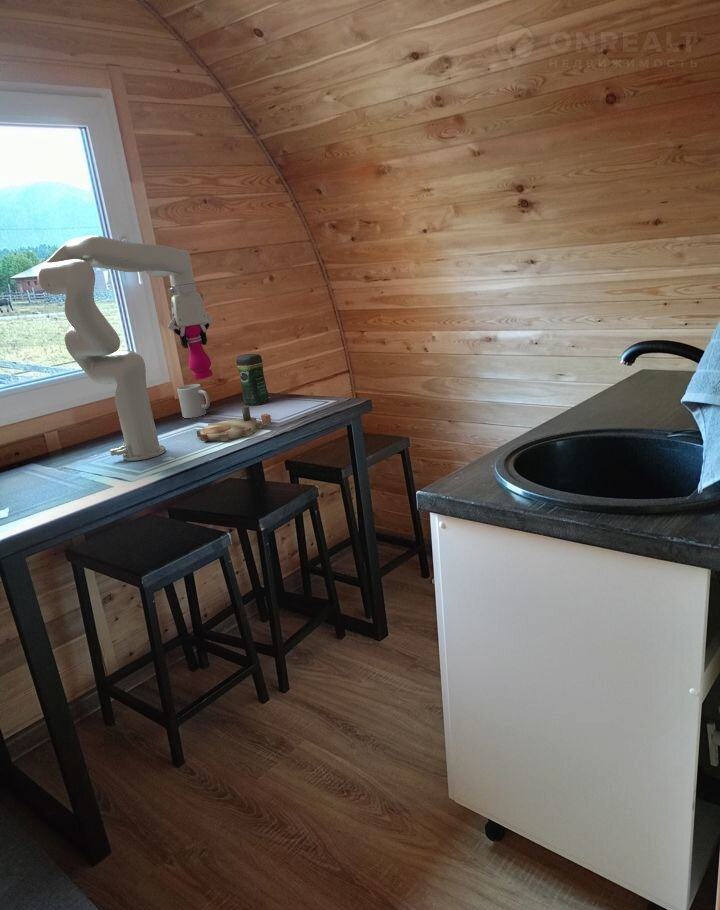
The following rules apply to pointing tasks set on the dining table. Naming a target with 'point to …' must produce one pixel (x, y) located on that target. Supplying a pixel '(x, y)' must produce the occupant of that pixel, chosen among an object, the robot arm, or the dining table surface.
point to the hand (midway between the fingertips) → (194, 345)
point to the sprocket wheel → (230, 428)
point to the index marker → (266, 419)
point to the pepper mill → (197, 353)
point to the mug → (192, 400)
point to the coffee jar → (252, 379)
